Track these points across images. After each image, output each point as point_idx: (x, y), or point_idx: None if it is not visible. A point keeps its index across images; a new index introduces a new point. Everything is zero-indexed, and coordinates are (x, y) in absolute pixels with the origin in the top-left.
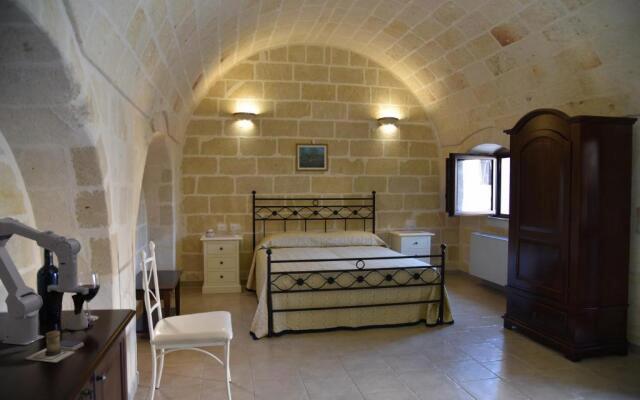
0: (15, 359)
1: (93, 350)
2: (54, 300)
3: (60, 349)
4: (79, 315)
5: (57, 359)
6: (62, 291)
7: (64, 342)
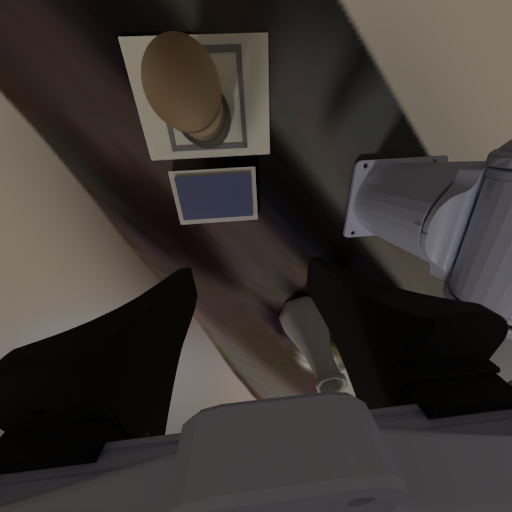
0: (303, 18)
1: (116, 198)
2: (361, 294)
3: (185, 133)
4: (304, 338)
5: (136, 65)
6: (186, 429)
7: (232, 200)
